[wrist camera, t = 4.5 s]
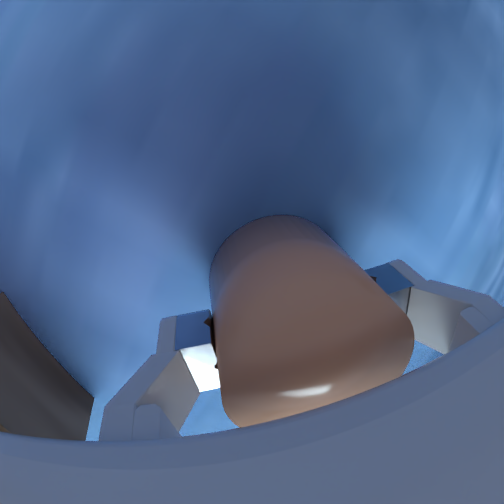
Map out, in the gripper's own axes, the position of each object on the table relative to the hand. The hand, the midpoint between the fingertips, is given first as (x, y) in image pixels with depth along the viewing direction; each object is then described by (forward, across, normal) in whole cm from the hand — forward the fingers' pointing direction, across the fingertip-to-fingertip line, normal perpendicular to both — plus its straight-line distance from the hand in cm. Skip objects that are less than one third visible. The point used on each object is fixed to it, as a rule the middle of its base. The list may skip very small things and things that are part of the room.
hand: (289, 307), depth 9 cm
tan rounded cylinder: (+2, 0, 0) cm, 2 cm away
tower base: (+2, -14, -2) cm, 14 cm away
